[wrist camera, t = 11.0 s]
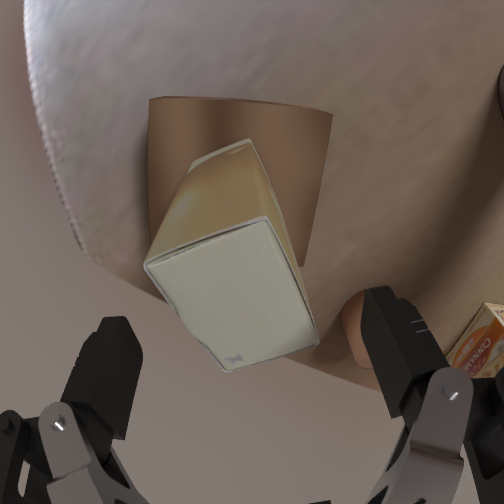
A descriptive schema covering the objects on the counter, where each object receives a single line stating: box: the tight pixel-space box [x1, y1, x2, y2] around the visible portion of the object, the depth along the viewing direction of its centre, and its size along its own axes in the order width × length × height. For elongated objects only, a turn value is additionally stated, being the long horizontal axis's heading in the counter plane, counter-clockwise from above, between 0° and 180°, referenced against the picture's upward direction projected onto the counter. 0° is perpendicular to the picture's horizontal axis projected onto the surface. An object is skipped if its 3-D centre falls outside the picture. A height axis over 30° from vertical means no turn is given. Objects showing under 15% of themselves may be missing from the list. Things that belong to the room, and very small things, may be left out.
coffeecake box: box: [445, 303, 504, 378], centre depth 31 cm, size 15×7×20 cm, turn 167°
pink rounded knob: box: [340, 287, 376, 369], centre depth 31 cm, size 7×7×6 cm
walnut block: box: [148, 96, 333, 267], centre depth 23 cm, size 12×12×5 cm
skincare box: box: [143, 138, 320, 372], centre depth 15 cm, size 6×4×12 cm
